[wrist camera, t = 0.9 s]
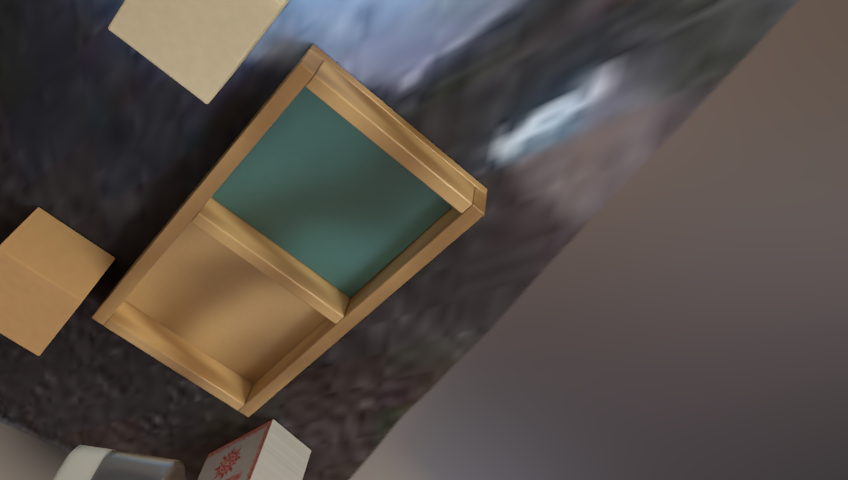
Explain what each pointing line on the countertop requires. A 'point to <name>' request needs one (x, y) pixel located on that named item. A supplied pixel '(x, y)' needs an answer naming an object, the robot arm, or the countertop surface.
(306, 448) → the white and red box
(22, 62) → the countertop surface
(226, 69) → the beige rectangular block
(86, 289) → the light brown block
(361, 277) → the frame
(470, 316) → the countertop surface
